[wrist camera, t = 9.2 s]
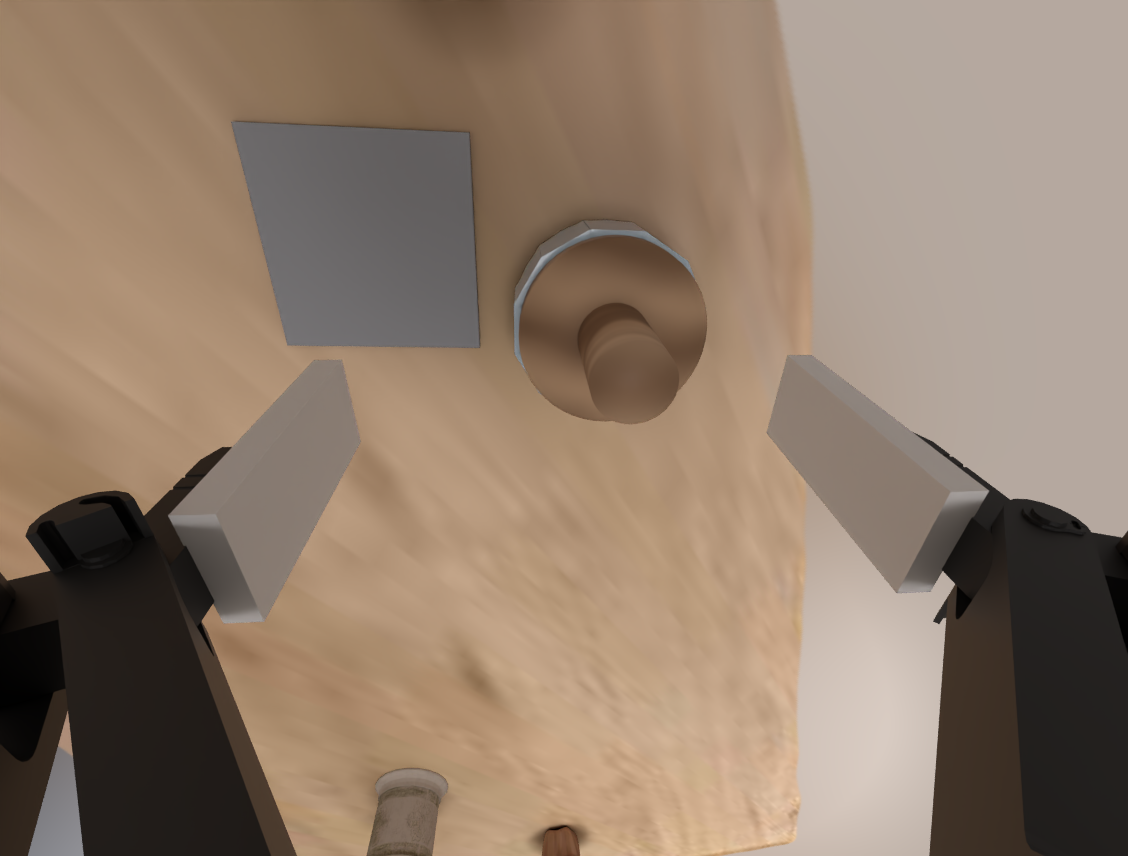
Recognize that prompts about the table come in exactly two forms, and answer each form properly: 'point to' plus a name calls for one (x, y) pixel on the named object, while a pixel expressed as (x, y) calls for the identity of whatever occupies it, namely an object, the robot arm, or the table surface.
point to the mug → (406, 812)
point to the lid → (612, 329)
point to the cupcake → (560, 843)
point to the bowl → (565, 240)
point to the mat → (365, 233)
